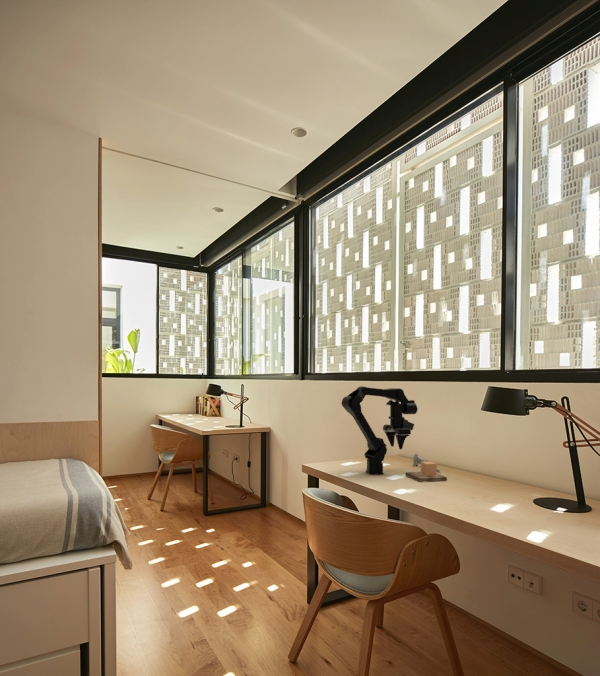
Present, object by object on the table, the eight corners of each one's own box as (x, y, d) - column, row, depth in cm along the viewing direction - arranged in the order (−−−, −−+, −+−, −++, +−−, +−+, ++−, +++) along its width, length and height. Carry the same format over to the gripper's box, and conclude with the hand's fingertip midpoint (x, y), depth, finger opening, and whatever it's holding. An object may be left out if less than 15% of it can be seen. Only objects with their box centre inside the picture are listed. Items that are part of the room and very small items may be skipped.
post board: (419, 481, 195) (419, 468, 196) (405, 475, 208) (405, 463, 208) (446, 480, 198) (446, 467, 199) (431, 474, 211) (431, 462, 211)
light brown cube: (426, 475, 201) (426, 464, 201) (420, 473, 206) (420, 461, 206) (436, 475, 202) (436, 463, 202) (431, 472, 207) (430, 461, 207)
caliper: (413, 465, 234) (412, 453, 235) (414, 465, 234) (414, 453, 235) (440, 473, 215) (440, 459, 216) (442, 473, 216) (442, 459, 216)
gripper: (421, 416, 212) (421, 450, 211) (403, 413, 230) (403, 444, 229) (398, 416, 210) (399, 451, 208) (382, 413, 228) (382, 445, 226)
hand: (396, 447), depth 218 cm, fingers open, 9 cm apart
